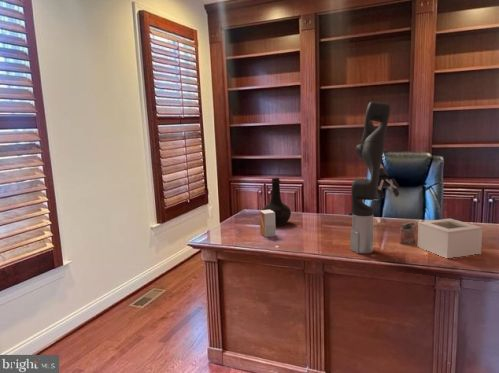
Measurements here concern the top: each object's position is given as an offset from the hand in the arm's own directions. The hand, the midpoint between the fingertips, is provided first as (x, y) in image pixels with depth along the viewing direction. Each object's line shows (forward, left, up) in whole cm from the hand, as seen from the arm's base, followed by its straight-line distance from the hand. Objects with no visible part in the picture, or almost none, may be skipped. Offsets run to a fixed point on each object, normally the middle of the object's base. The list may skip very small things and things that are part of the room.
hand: (390, 196), depth 195 cm
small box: (-58, +26, -21) cm, 67 cm away
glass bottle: (-46, +46, -21) cm, 68 cm away
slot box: (+9, -30, -21) cm, 38 cm away
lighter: (0, -14, -21) cm, 25 cm away
